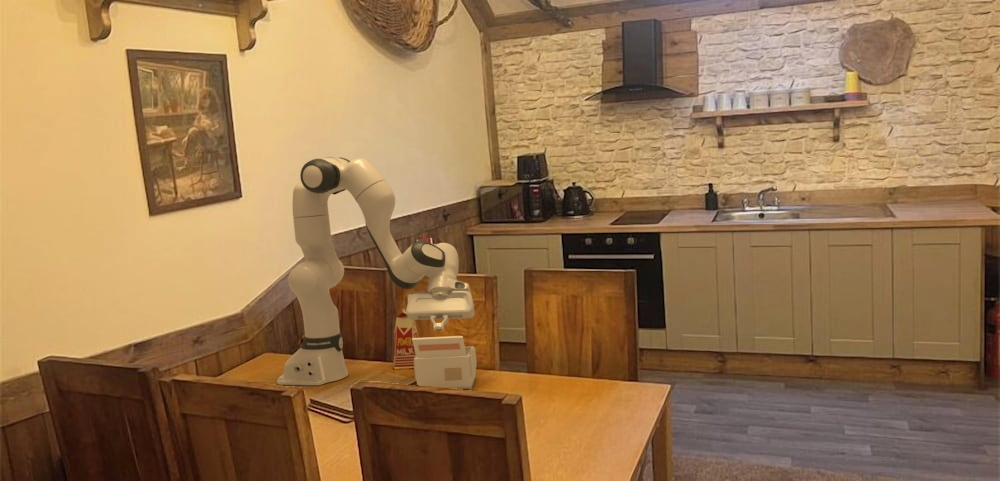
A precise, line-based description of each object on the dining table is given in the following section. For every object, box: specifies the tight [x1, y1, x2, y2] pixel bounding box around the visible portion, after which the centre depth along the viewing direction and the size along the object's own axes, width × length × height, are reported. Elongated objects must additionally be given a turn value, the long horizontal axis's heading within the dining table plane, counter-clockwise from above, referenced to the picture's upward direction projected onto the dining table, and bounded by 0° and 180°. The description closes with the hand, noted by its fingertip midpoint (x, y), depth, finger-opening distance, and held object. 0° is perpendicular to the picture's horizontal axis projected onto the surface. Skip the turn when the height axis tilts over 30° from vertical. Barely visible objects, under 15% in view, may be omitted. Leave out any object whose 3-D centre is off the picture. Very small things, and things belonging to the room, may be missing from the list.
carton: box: [413, 345, 478, 391], centre depth 220 cm, size 17×13×10 cm
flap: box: [412, 335, 466, 358], centre depth 210 cm, size 15×8×1 cm
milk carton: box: [392, 308, 420, 368], centre depth 244 cm, size 9×9×20 cm
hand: (438, 329), depth 213 cm, fingers closed
